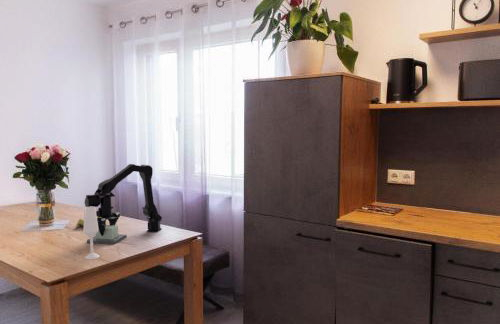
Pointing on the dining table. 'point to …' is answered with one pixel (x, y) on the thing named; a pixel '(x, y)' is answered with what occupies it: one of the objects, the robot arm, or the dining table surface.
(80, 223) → the yellow banana
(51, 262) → the dining table surface
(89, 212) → the champagne flute
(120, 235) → the base plate
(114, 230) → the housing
